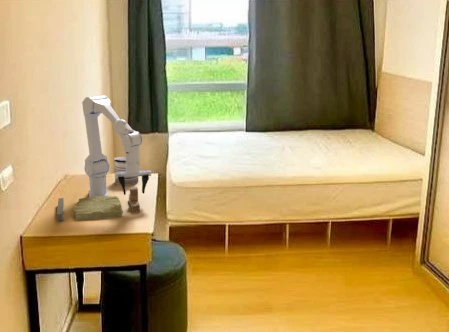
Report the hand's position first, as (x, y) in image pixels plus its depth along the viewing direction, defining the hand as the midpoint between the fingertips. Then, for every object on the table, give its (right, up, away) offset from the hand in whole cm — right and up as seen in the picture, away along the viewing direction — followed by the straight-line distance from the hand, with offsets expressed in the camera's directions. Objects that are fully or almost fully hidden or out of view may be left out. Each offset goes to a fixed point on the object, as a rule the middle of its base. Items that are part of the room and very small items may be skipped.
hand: (133, 193), depth 231 cm
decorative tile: (-14, -7, -4) cm, 16 cm away
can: (-9, +4, +36) cm, 38 cm away
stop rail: (-28, -7, -8) cm, 30 cm away
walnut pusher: (0, -6, +1) cm, 6 cm away
